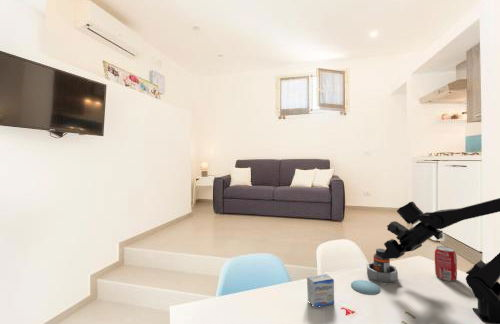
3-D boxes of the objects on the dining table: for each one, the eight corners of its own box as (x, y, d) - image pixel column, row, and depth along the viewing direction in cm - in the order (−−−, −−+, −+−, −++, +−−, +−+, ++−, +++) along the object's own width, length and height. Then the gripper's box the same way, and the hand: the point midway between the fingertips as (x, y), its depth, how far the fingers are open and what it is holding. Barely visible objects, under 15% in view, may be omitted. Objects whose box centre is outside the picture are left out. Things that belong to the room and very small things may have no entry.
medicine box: (313, 308, 82) (313, 282, 82) (307, 301, 87) (306, 276, 87) (334, 304, 84) (334, 279, 84) (327, 297, 89) (326, 273, 89)
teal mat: (381, 296, 89) (381, 295, 89) (351, 291, 92) (351, 290, 92) (378, 283, 98) (378, 282, 98) (350, 279, 102) (350, 278, 102)
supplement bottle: (370, 275, 104) (369, 248, 104) (380, 273, 107) (379, 246, 107) (383, 282, 99) (382, 253, 99) (393, 278, 102) (392, 250, 102)
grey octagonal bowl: (399, 285, 96) (399, 275, 96) (368, 281, 100) (368, 271, 100) (394, 273, 106) (394, 264, 106) (366, 270, 110) (366, 261, 110)
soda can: (449, 274, 104) (448, 245, 104) (461, 282, 97) (461, 251, 97) (431, 274, 105) (430, 245, 105) (442, 282, 98) (441, 251, 98)
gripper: (412, 212, 101) (385, 233, 111) (389, 219, 91) (361, 242, 100) (435, 237, 95) (405, 256, 104) (413, 247, 84) (381, 268, 94)
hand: (388, 255), depth 101 cm, fingers open, 9 cm apart
